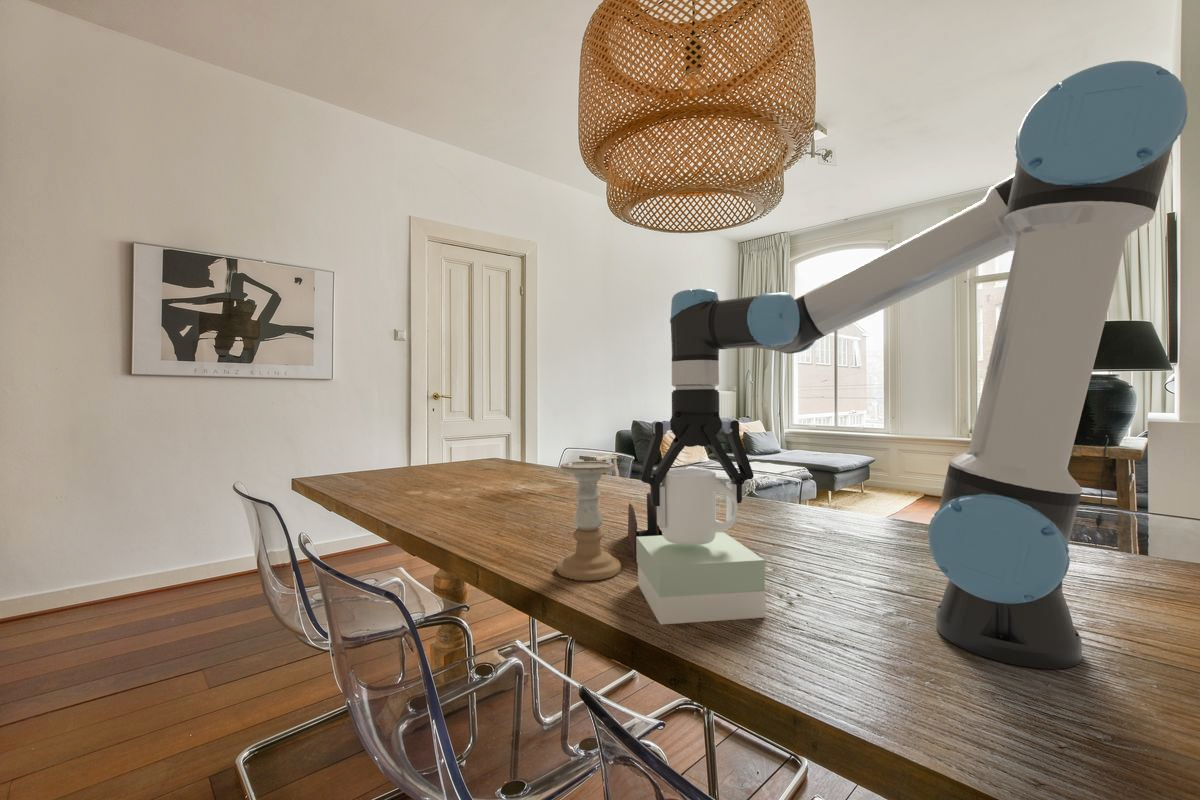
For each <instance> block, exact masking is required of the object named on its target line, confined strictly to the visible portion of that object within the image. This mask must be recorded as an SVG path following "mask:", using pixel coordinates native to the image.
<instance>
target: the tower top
mask: <svg viewBox="0 0 1200 800" xmlns="http://www.w3.org/2000/svg"><path fill="white" fill-rule="evenodd" d="M636 554H637V562H636V564H637V566H638V565H639V567H640V568H641V570H642V571H643V573H644V574H645V576H646V577H647V579H648V580H649V582H650V583H651V585H652V586H653V588H654V589H655V591H656V592H657V594H658V595H659V597H675V596H689V595H703V594H718V593H732V592H747V591H761V590H765V589H766V581H765V579H766V578H765V577H766V573H765V570H766V567H765V566H766V565H765V564H766V563H765V562H766V561H765V559H764V558H762V557H761V556H759V555H758V554H757V553H755V552H753V551H752V550H751V549H749V547H746V546H744V545H743V544H742V543H740V542H739V541H738V540H736V539H734V538H733V537H732V536H730V535H729V534H727V533H725V531H721V532H716V534H715V538H714V540H713V541H712V542H710V543H707V544H702V545H682V544H676V543H672V542H669V541H667V540H666V539H665V538H664V537H663V535H661V536H642V537H636Z"/></svg>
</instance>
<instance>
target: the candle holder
mask: <svg viewBox="0 0 1200 800" xmlns="http://www.w3.org/2000/svg"><path fill="white" fill-rule="evenodd" d="M559 468H560V471H561V472H563V473H566V474H573V475H572V476H573V477H574V479H575V480H576V481H577V483H578V490H577V491H576V492H575V493H574V497H575V498H576V499H577V505H576V506H577V507H576V510H575V514H574V517H573V524H574V525H575V526H576V528H575V531H574V532H573V533H572V536H573V538H574V539H575V541H576V548H575V551H572V552H570V553H568V554H567V555H566V556H564V557H562V558H561V559H559V560H558V561H557V563H556V567H555V568H556V572H557V574H558V575H559V576H561V577H563V578H566V579H568V578H569V579H568V580H572V579H574V580H573V581H580V580H581V581H582V582H583V581H585V582H588V581H589V582H590V581H591V582H593V580H594V581H601V580H607V579H609V578H613V577H614V576H617V575H618V574H619V573H620V572H621V569H622V564H621V561H620V560H619V559H618V558H617V557H614V556H612V555H611V554H610V553H609V552H607V551H603V550H602V548H601V540H602V539H603V537H604V535H605V534H604V531H602V529H601V528H600V527H601V525H602V524H603V516H602V513H601V510H600V505H599V504H600V503H599V499H600V498H601V497H602V494H601V492H600V491H599V490H598V487H597V485H598V481H600V479H602V474H606V473H610V472H613V471H614V470H615V469H616V465H615V463H613V462H610V461H601V460H600V461H599V460H598V461H597V460H584V461H583V460H582V461H581V460H580V461H570V462H564V463H561V464H560V466H559Z"/></svg>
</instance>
